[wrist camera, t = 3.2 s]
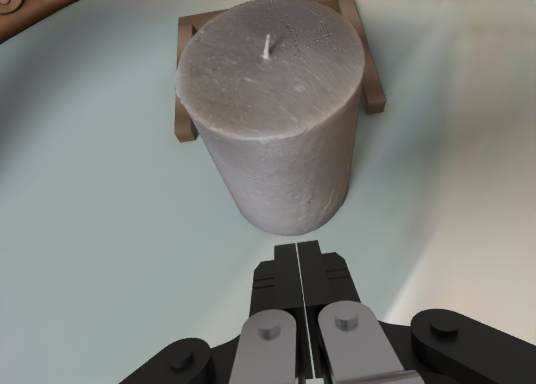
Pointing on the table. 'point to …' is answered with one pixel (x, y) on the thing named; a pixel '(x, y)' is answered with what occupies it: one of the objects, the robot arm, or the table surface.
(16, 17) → the sunglasses case
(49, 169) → the table surface
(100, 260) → the table surface
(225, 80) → the pillar candle
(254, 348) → the robot arm
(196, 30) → the wooden u-shaped frame
